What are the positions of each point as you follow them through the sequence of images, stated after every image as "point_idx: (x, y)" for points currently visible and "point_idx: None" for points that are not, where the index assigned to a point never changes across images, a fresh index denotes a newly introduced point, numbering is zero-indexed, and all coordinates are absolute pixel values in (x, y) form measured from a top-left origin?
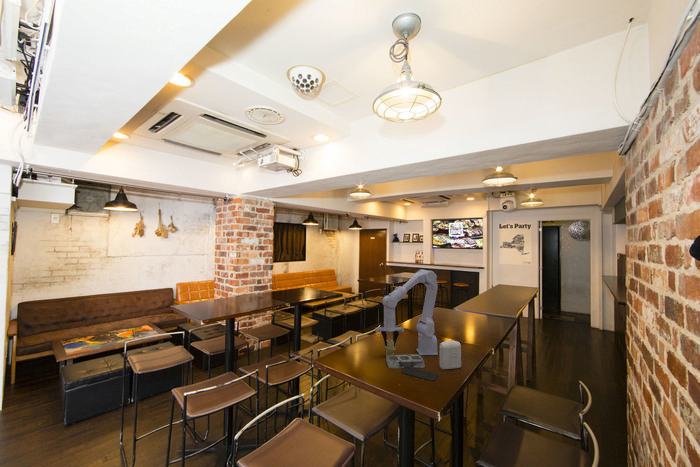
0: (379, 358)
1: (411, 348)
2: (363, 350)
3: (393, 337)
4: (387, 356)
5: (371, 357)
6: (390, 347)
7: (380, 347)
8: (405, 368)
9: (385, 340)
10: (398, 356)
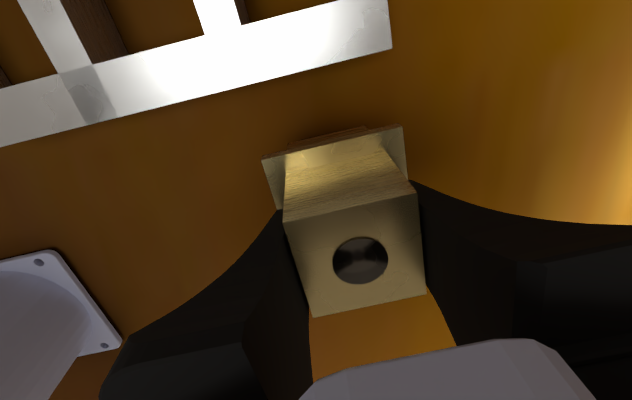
0: (438, 112)
1: None
2: None
3: (299, 328)
4: (371, 2)
5: (516, 123)
6: (339, 168)
7: (412, 329)
8: None
9: (457, 209)
10: (218, 32)
